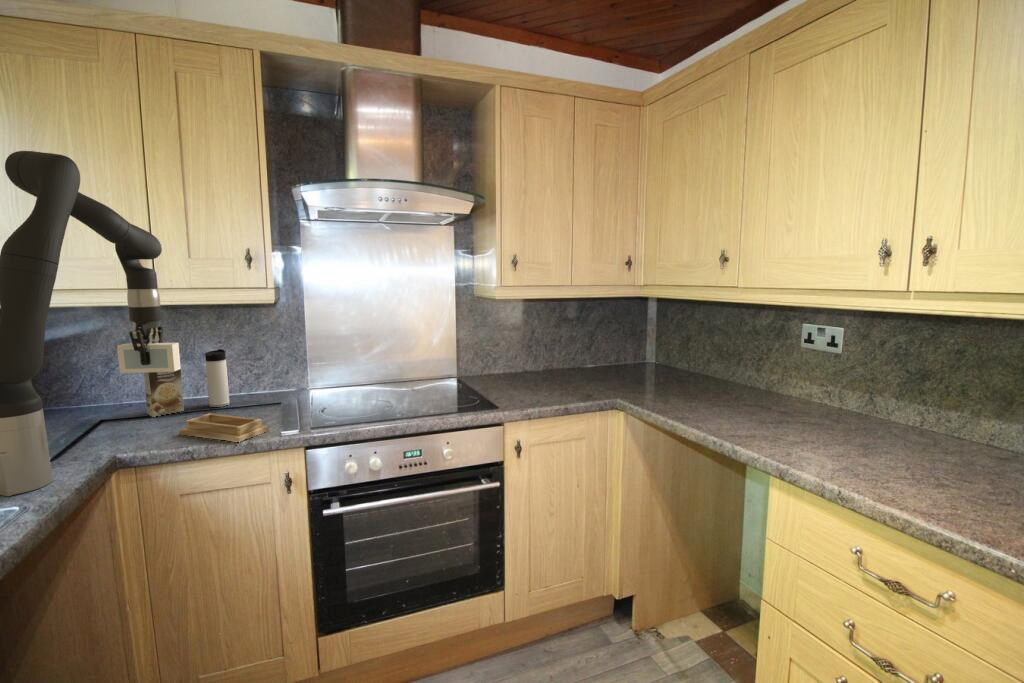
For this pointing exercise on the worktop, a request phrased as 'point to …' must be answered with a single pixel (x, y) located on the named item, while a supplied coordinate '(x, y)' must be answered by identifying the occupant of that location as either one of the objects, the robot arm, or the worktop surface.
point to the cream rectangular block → (160, 356)
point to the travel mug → (217, 378)
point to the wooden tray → (224, 427)
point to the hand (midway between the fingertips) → (150, 362)
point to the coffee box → (163, 392)
